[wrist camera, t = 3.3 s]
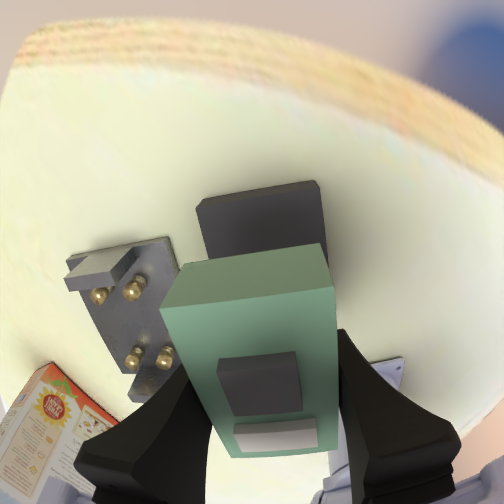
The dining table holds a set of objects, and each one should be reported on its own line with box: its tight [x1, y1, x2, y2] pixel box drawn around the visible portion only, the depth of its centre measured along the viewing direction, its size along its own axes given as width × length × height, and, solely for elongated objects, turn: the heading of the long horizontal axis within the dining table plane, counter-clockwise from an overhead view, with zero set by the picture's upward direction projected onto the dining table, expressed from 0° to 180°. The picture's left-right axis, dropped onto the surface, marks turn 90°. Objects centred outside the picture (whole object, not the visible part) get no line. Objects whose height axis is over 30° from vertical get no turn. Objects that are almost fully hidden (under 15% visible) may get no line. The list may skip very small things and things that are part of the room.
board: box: [159, 243, 339, 458], centre depth 11 cm, size 9×5×4 cm, turn 11°
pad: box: [195, 180, 329, 269], centre depth 20 cm, size 10×7×2 cm
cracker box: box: [0, 363, 118, 504], centre depth 21 cm, size 14×6×21 cm, turn 32°
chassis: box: [63, 237, 182, 403], centre depth 21 cm, size 12×9×4 cm
